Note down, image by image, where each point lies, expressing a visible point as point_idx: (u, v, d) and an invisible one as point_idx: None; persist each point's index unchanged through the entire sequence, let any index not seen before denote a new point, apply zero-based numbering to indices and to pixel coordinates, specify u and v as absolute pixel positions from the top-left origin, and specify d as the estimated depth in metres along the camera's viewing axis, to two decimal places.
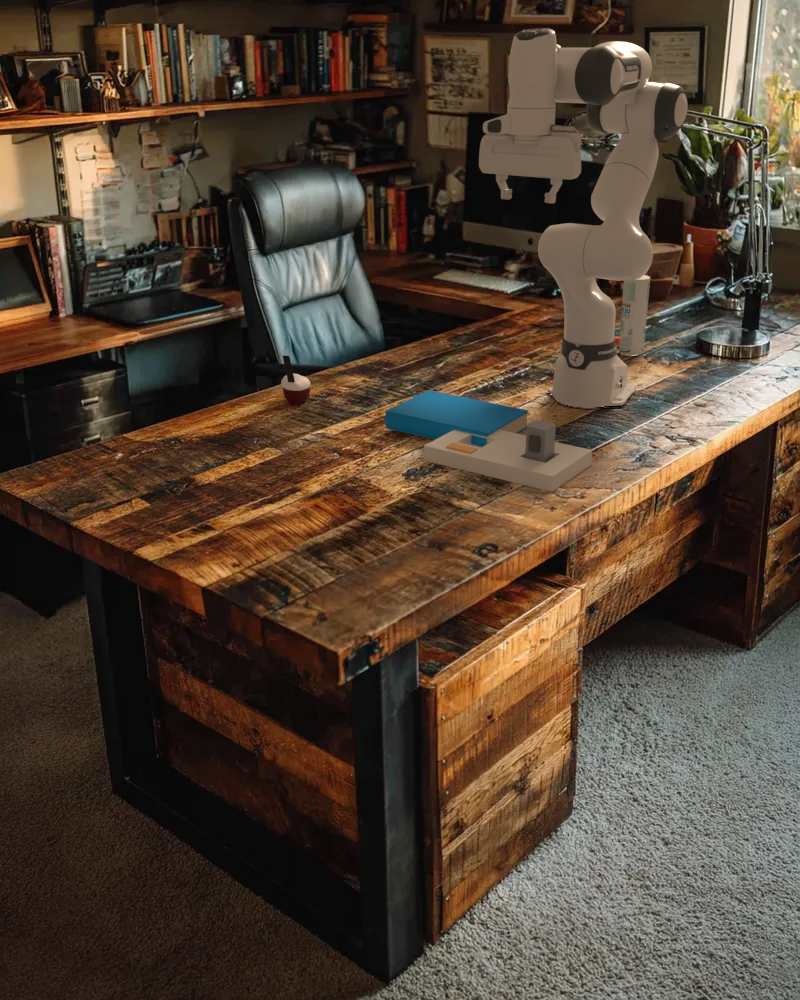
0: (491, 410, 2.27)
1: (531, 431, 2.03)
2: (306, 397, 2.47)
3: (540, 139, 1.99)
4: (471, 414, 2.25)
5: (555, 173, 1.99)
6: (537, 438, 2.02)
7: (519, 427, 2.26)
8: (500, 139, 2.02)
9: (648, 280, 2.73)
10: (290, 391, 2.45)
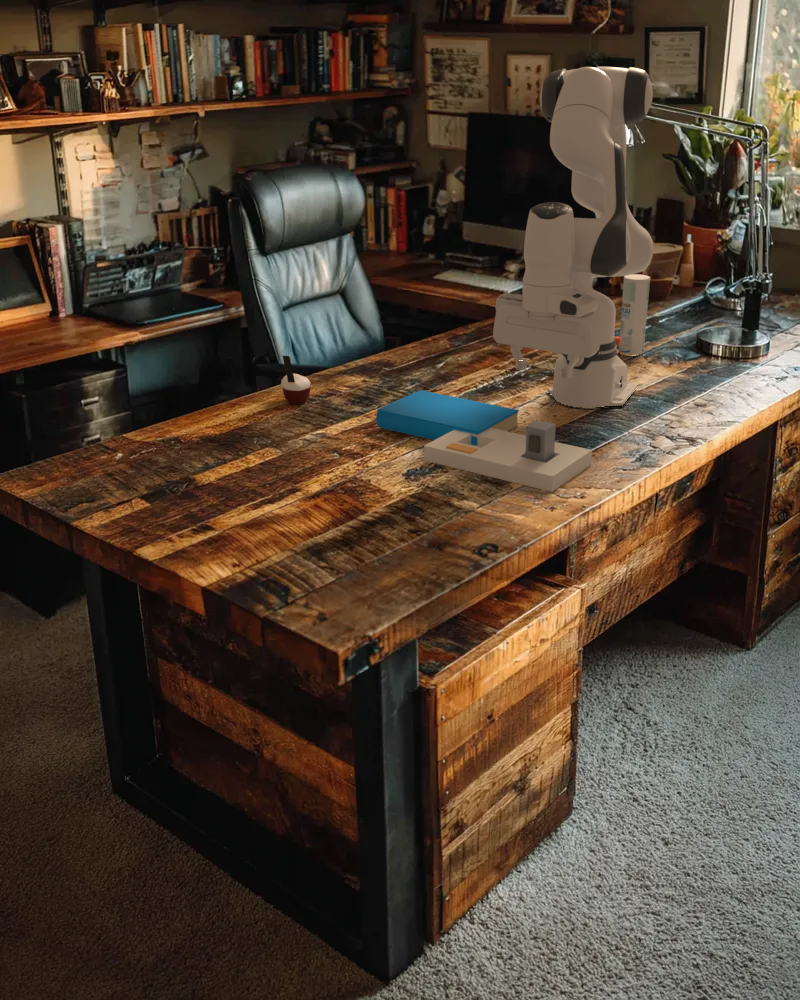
0: (482, 409, 2.29)
1: (531, 431, 2.03)
2: (306, 397, 2.47)
3: None
4: (462, 413, 2.26)
5: None
6: (537, 438, 2.02)
7: (510, 426, 2.27)
8: None
9: (648, 280, 2.73)
10: (290, 391, 2.45)
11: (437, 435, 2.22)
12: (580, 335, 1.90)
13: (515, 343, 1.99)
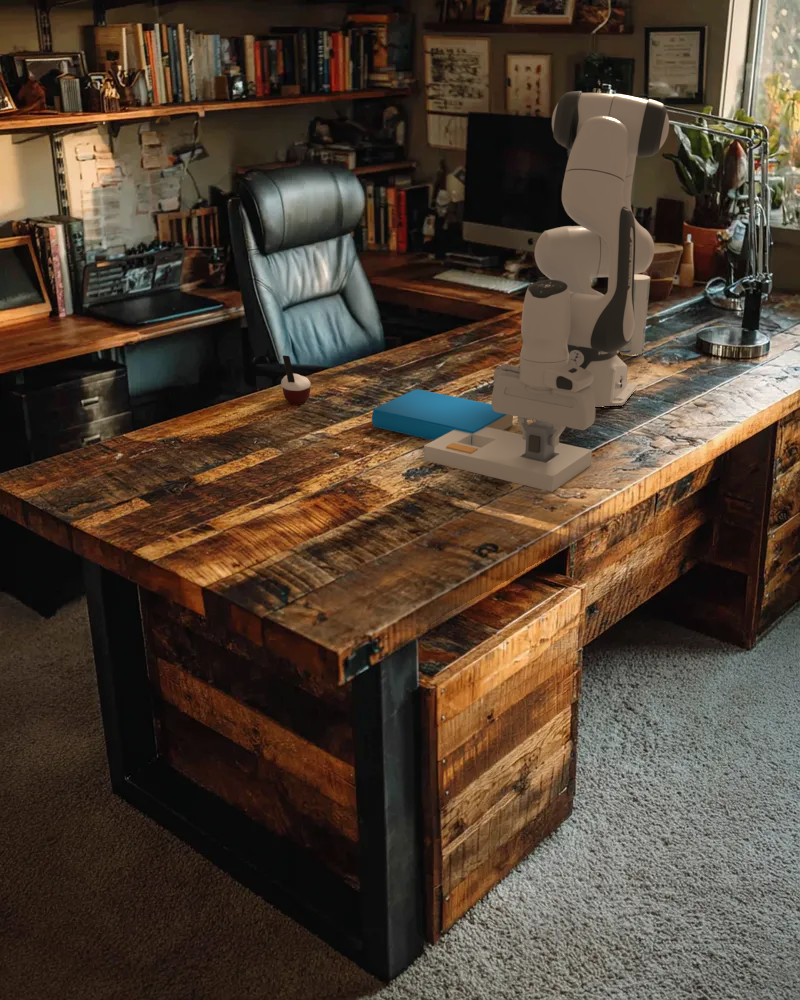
0: (477, 408, 2.29)
1: (531, 431, 2.03)
2: (306, 397, 2.47)
3: None
4: (457, 412, 2.27)
5: None
6: (537, 438, 2.02)
7: (505, 425, 2.28)
8: None
9: (648, 280, 2.73)
10: (290, 391, 2.45)
11: (433, 435, 2.22)
12: (576, 408, 1.96)
13: (513, 413, 2.04)
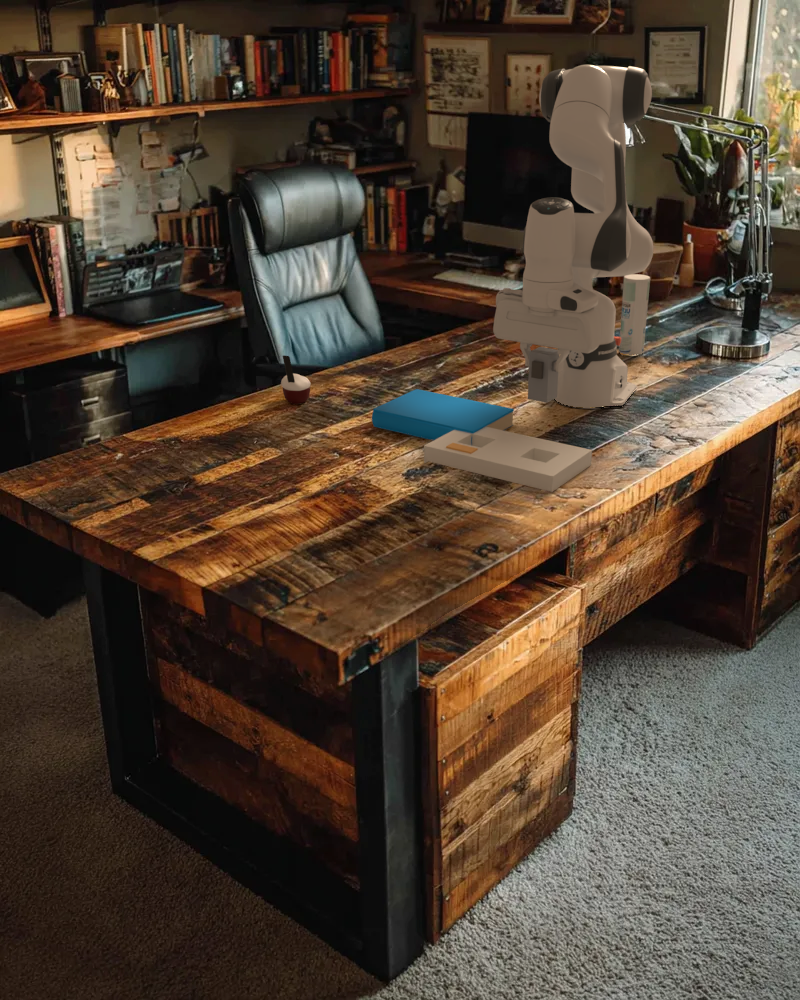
0: (477, 408, 2.29)
1: (534, 357, 1.97)
2: (306, 397, 2.47)
3: None
4: (457, 412, 2.27)
5: None
6: (540, 363, 1.96)
7: (505, 425, 2.28)
8: None
9: (648, 280, 2.73)
10: (290, 391, 2.45)
11: (433, 435, 2.22)
12: (581, 330, 1.90)
13: (515, 338, 1.98)
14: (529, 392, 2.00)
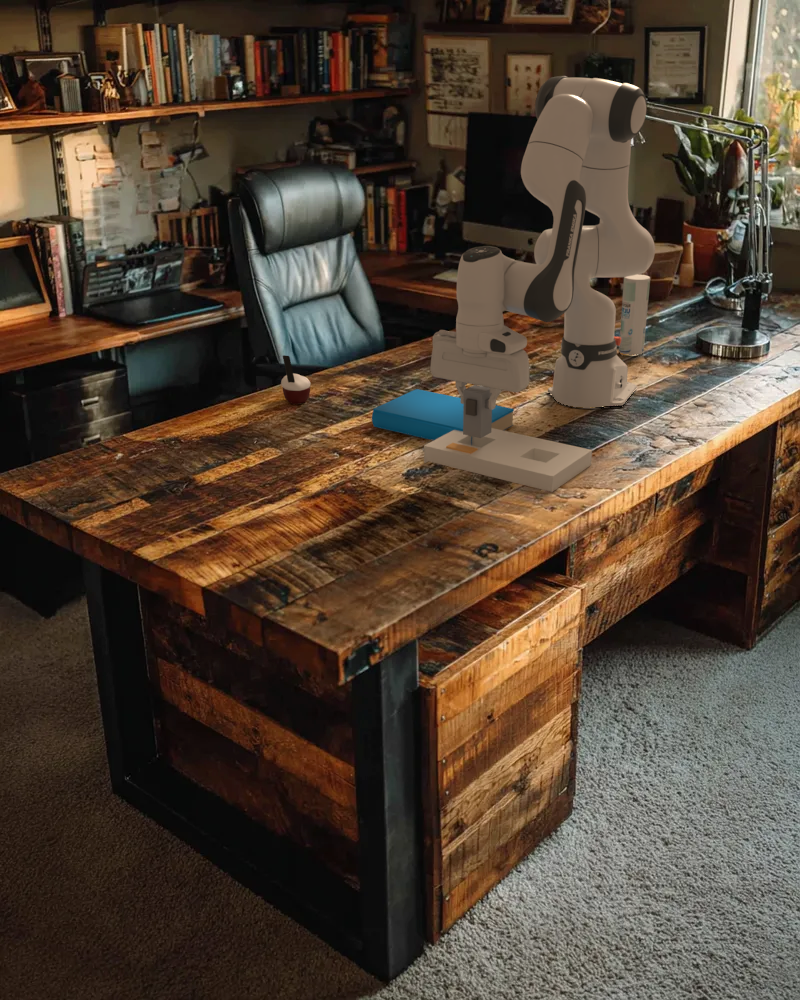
0: None
1: (468, 395, 2.08)
2: (306, 397, 2.47)
3: None
4: (457, 412, 2.27)
5: None
6: (474, 401, 2.07)
7: (505, 425, 2.28)
8: None
9: (648, 280, 2.73)
10: (290, 391, 2.45)
11: (433, 435, 2.22)
12: (510, 371, 2.01)
13: (451, 377, 2.09)
14: (464, 428, 2.11)
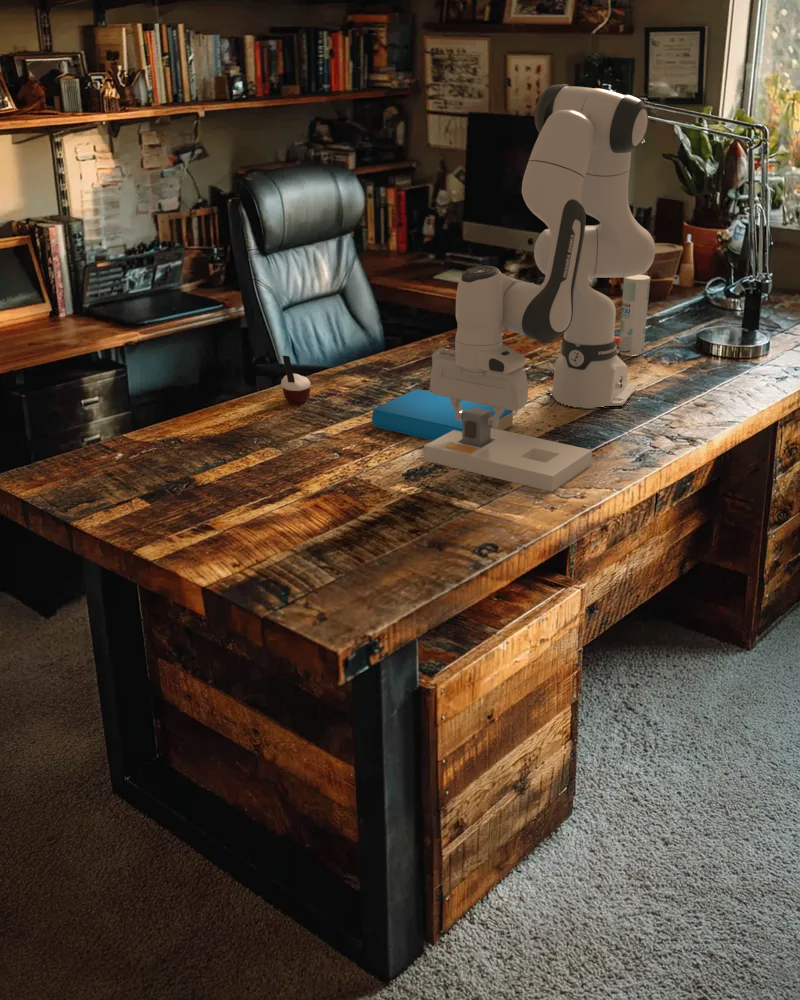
0: None
1: (467, 418, 2.10)
2: (306, 397, 2.47)
3: None
4: None
5: None
6: (472, 424, 2.09)
7: (505, 425, 2.28)
8: None
9: (648, 280, 2.73)
10: (290, 391, 2.45)
11: (433, 435, 2.22)
12: (508, 390, 2.03)
13: (450, 395, 2.11)
14: None
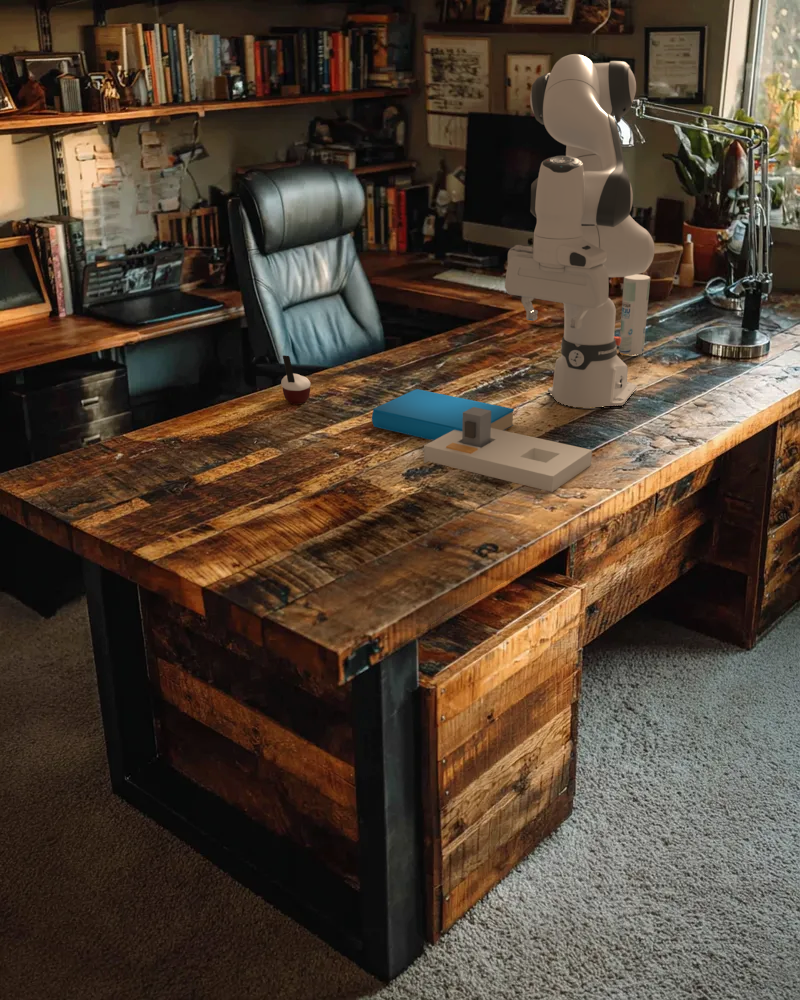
0: None
1: (467, 418, 2.10)
2: (306, 397, 2.47)
3: None
4: (457, 412, 2.27)
5: None
6: (472, 424, 2.09)
7: (505, 425, 2.28)
8: None
9: (648, 280, 2.73)
10: (290, 391, 2.45)
11: (433, 435, 2.22)
12: (589, 286, 1.96)
13: (526, 294, 2.05)
14: None
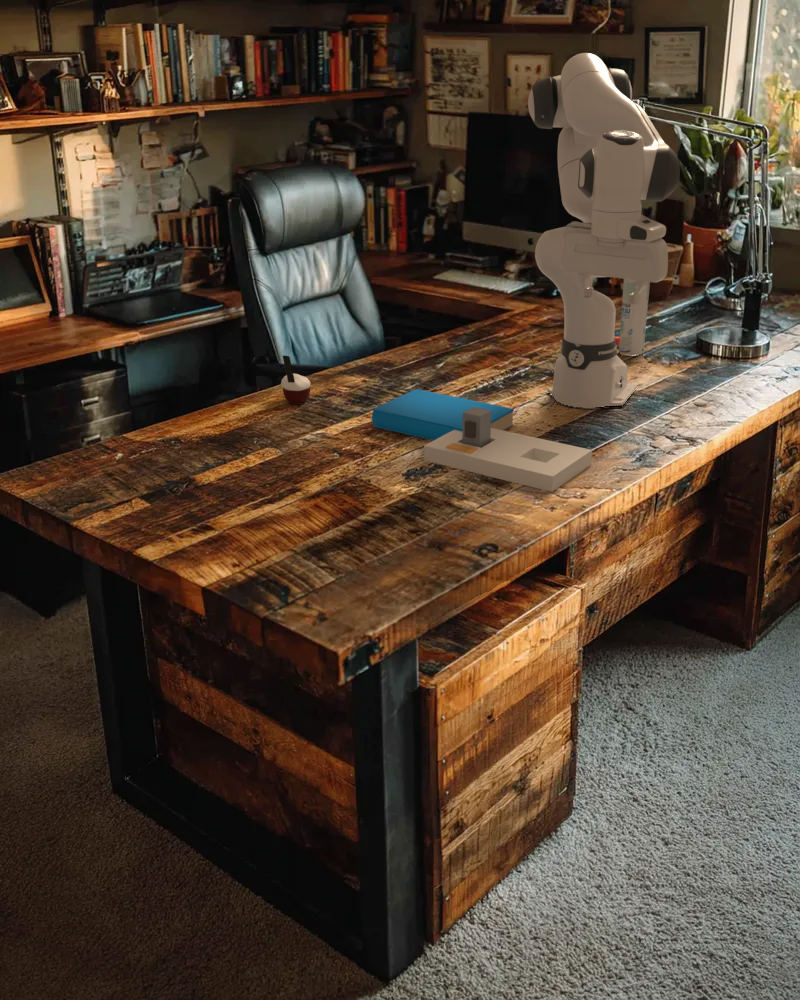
0: None
1: (467, 418, 2.10)
2: (306, 397, 2.47)
3: None
4: (457, 412, 2.27)
5: None
6: (472, 424, 2.09)
7: (505, 425, 2.28)
8: None
9: None
10: (290, 391, 2.45)
11: (433, 435, 2.22)
12: (649, 260, 1.95)
13: (583, 271, 2.03)
14: None
